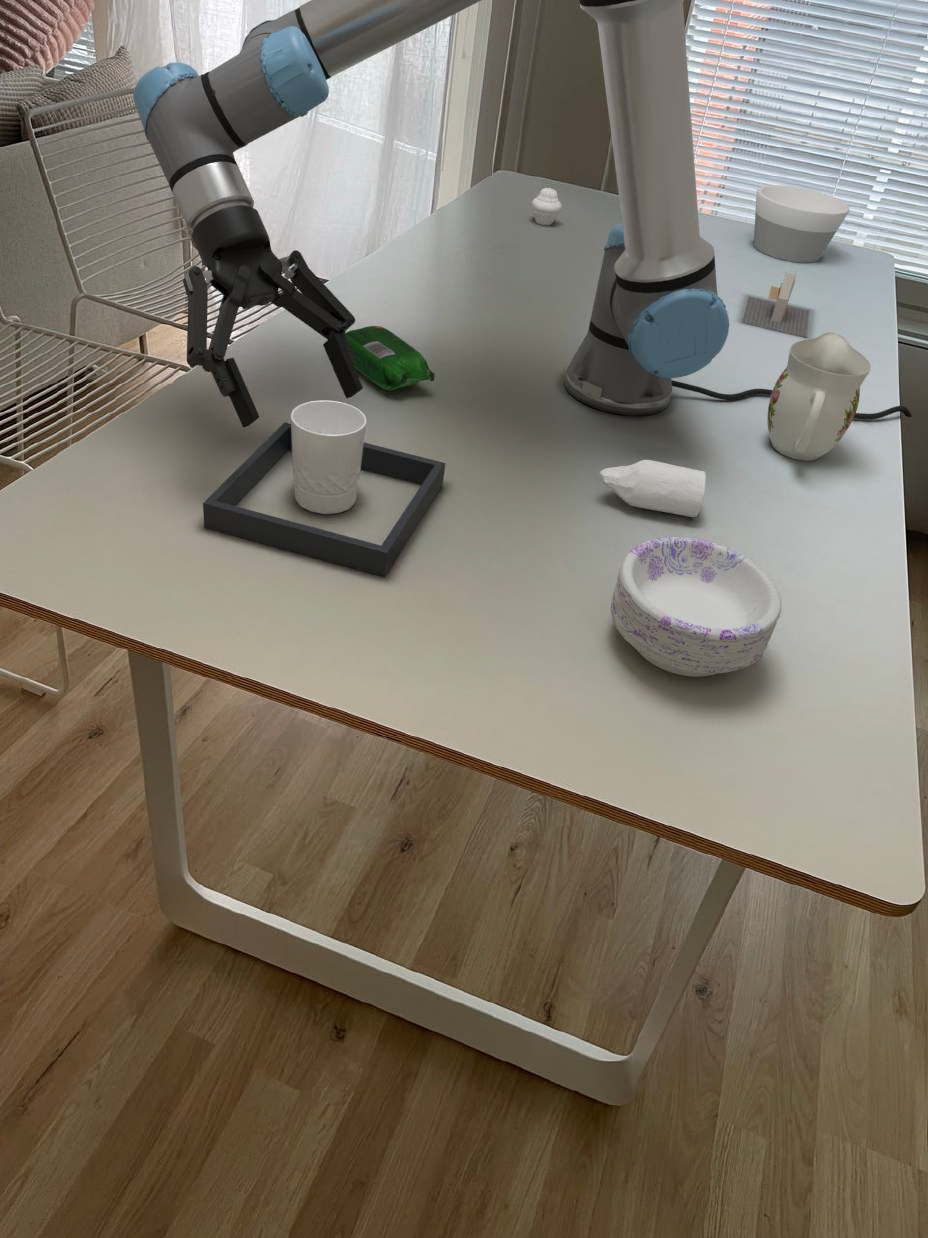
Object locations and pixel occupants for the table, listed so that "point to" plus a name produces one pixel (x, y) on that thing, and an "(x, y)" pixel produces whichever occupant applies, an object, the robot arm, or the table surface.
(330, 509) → the white cup
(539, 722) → the table surface
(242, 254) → the robot arm
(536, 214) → the muffin
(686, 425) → the table surface
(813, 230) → the bowl
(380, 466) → the dark grey square frame
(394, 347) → the snack package
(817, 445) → the pitcher
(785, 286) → the architectural model
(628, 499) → the white tapered cylinder
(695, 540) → the paper bowls
